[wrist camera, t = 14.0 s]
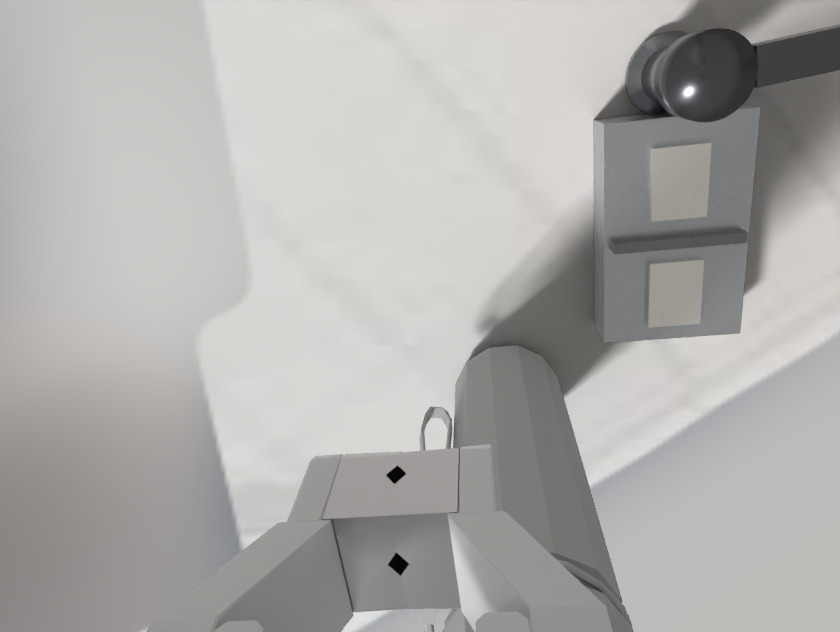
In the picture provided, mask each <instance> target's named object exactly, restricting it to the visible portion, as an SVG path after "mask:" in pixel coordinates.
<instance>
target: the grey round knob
mask: <svg viewBox="0 0 840 632" xmlns="http://www.w3.org/2000/svg"><path fill="white" fill-rule="evenodd" d="M687 34H688V33H685V32H679V31H672V32H665V33H661V34H658V35H655V36H653V37H651V38H650V39H648V40H646V41H645V42H644V43H643V44H642V45H641V46H640V47H639V48H638V49H637V50H636V51H635V53H634V54H633V56H632V57H631V59H630V62H629V64H628V67H627V71H626V89H627V92H628V95H629V97H630V99H631V101H632V102H633V104H634V105H635V106H636V107H637V108H639V109H640V110H641V111H643V112H645V113H647V114H660V113H669V112H667V111H666V110H665V109H664V108H663V107H662V105H661V104H660V102H659V101H658V98H657V96H656V93H655V87H654V78H655V72H656V68H657V65H658V63H659V61H660V59H661V57H662V55H663V54H664V52H665V51H666V50H667V49H668V47H669V46H670V45H672V44H673V43H674V42H675V41H676V40H678V39H679V38H681V37H683V36H685V35H687Z"/></svg>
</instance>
